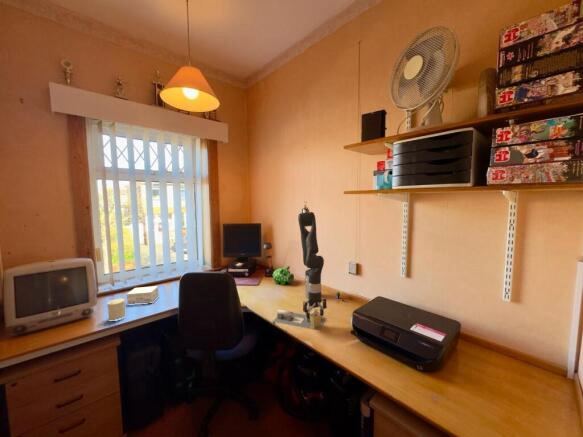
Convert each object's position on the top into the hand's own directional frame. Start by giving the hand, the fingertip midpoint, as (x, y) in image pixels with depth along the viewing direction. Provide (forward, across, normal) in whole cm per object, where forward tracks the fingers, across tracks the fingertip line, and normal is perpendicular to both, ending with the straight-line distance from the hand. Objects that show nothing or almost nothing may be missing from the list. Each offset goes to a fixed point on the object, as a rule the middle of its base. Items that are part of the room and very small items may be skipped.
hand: (315, 317), depth 140 cm
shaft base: (+7, +5, -11) cm, 14 cm away
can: (+7, +111, -64) cm, 128 cm away
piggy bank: (+6, -10, -79) cm, 80 cm away
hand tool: (+7, -23, +11) cm, 26 cm away
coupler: (+6, 0, 0) cm, 6 cm away
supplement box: (+7, +100, -88) cm, 134 cm away
